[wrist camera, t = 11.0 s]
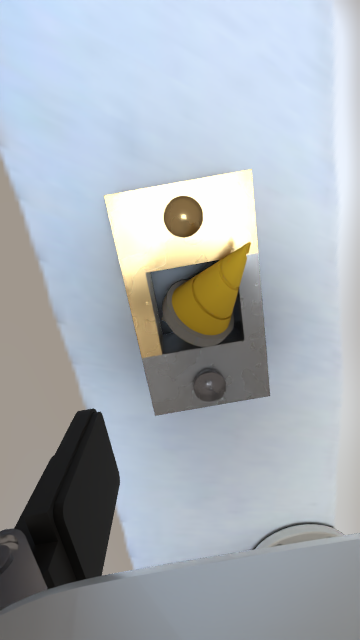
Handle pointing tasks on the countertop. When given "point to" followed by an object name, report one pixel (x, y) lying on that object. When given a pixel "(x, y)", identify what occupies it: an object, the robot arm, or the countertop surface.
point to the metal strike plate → (181, 250)
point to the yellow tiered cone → (206, 301)
